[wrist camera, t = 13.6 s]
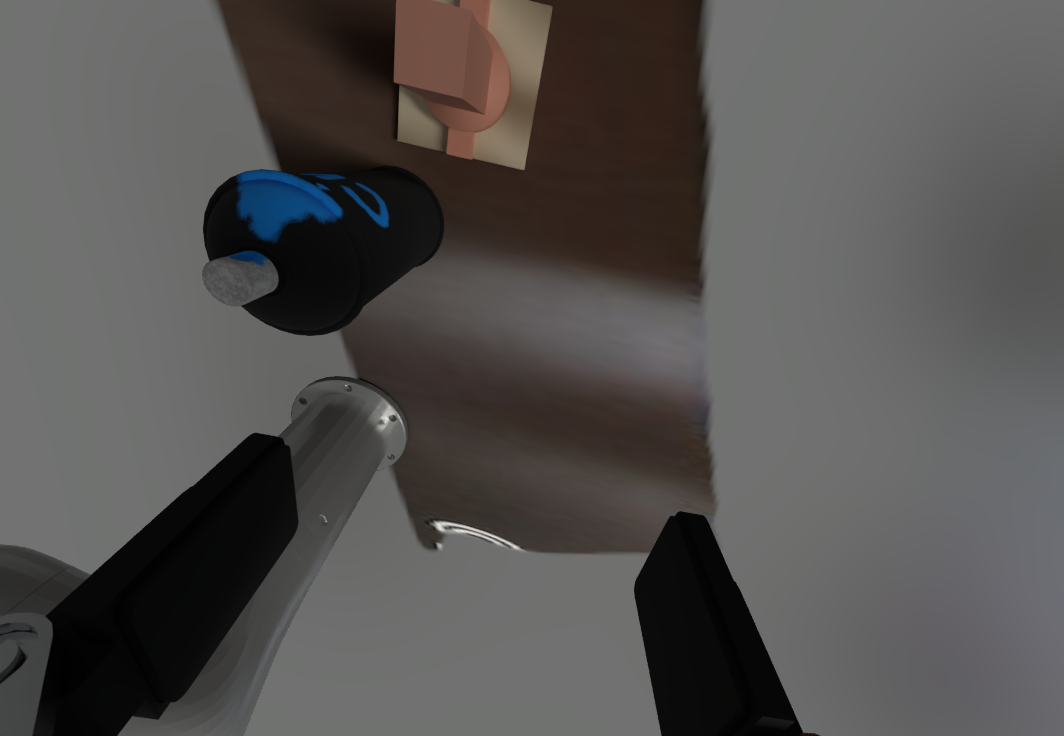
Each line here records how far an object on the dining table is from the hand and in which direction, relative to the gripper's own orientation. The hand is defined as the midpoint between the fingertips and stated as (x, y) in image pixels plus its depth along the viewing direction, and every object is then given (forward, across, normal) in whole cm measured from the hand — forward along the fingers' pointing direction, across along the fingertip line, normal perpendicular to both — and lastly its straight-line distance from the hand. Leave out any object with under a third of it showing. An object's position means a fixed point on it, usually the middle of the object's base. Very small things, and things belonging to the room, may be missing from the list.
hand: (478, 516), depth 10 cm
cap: (+28, +7, -12) cm, 31 cm away
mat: (+28, +7, -12) cm, 32 cm away
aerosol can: (+28, +12, -1) cm, 31 cm away
